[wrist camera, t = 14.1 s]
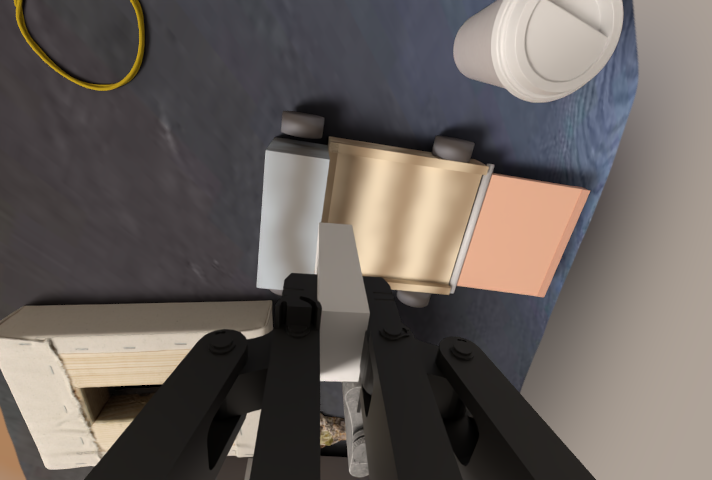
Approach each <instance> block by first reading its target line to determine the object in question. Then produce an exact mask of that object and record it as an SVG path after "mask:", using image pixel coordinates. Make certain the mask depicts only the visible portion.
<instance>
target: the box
mask: <svg viewBox="0 0 712 480" xmlns="http://www.w3.org/2000/svg"><path fill="white" fill-rule="evenodd" d="M221 329H233V330H236V331H238V332H241V333H242V334H243V335H244V336H245V337H246V339H251V338H256V337H260V336H263V335H265V334H267V333H269V332H270V331H272V330H273V320H272V300H266V301H233V302H186V303H141V304H96V305H46V306H23V307H21V308H20V309H18V310H16V311H15V312H13V313H12V314H10V315H9V316H7V317H6V318H4V319H3V320H1V321H0V368H1V371H2V373H3V375H4V377H5V379H6V381H7V383H8V385H9V387H10V389H11V392H12V394H13V396H14V398H15V400H16V402H17V404H18V407H19V409H20V411H21V413H22V415H23V417H24V420H25V422H26V424H27V426H28V428H29V430H30V432H31V434H32V437H33V439H34V441H35V443H36V445H37V447H38V450H39V452H40V454H41V458H42V460H43V462H44V465H45V467H46V468H47V469H68V468H76V467H84V466H96V465H97V463H98V462H99V461H100V460H101V459H102V457H103V456H104V455H105V454H106V452H107V451H108V450H109V449H110V448H111V446H112V445H113V444H114V443H115V441H116V440H117V439H118V438H119V437H120V435H121V434H122V433H123V432H124V431H125V429H126V428H127V427H128V426H129V424H130V423H131V422H132V421H133V420H134V418H135V417H136V416H137V415H138V414H139V412H140V411H141V410H142V409H143V407H144V406H145V405H146V404H147V403H148V401H149V400H150V399H151V398H152V396H153V395H154V394H155V393H156V392H157V390H158V389H159V388H160V387H152V388H127V389H123V390H115V389H114V386H129V385H154V384H163V383H164V382H165V381H166V379H167V378H168V377H169V376H170V375H171V373H172V372H173V371H174V370H175V369H176V367H177V366H178V365H179V364H180V362H181V361H182V360H183V359H184V358H185V356H186V355H187V354H188V353H189V351H190V350H191V349H192V348H193V347H194V345H195V344H196V343H197V342H198V341H199V340H200V339H201V338H202V337H203V336H204V335H205V334H208V333H210V332H212V331H215V330H221ZM260 413H261V409H260V410H257V411H253V412H250V413H247V416H246V419H245V421H244V423H243V425H242V427H241V429H240V431H239V433H238V435H237V437H236V439H235V441H234V443H233V445H232V447H231V449H230V451H229V453H228V455H227V456H237V457H253V455H254V449H255V443H256V437H257V431H258V425H259V419H260Z"/></svg>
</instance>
